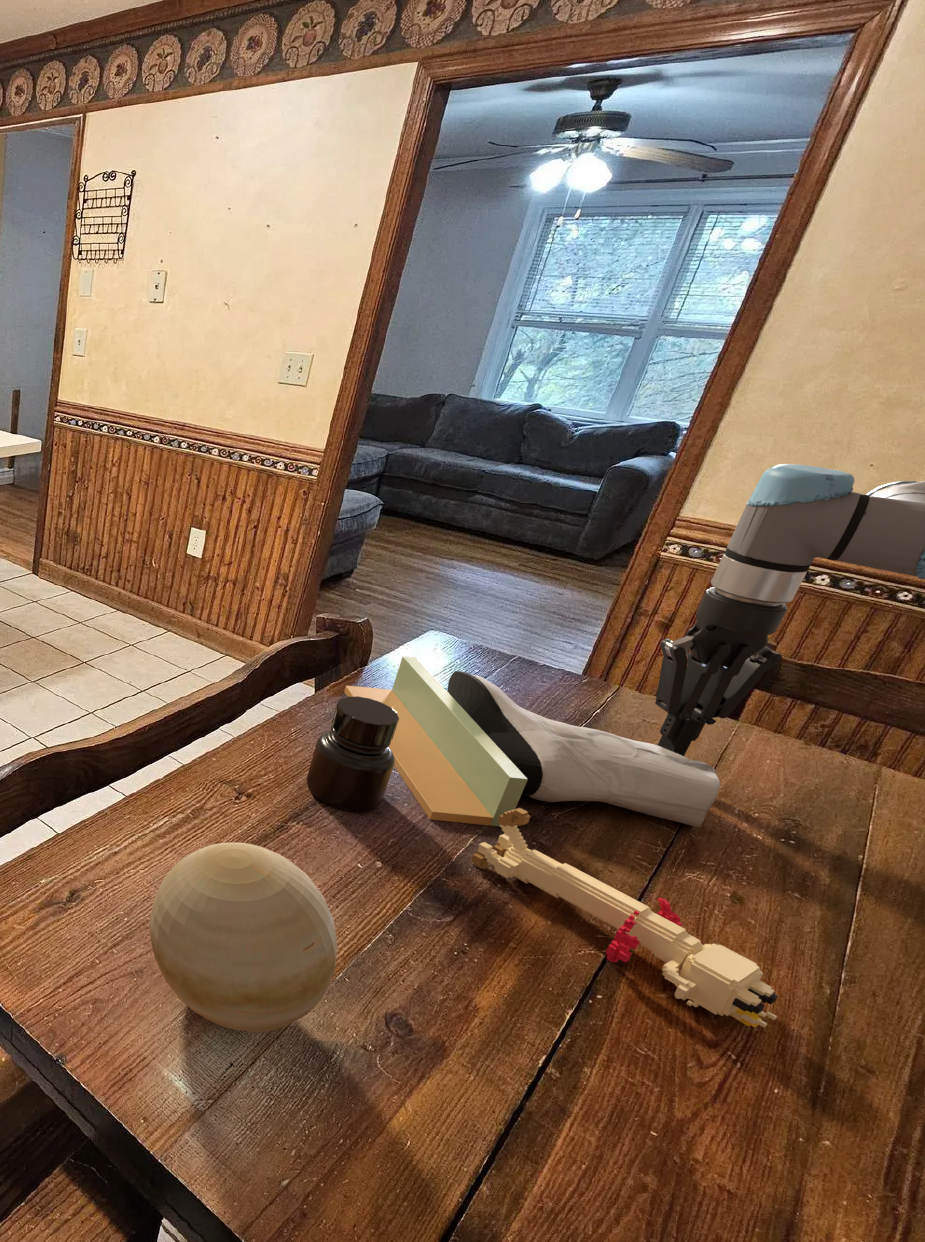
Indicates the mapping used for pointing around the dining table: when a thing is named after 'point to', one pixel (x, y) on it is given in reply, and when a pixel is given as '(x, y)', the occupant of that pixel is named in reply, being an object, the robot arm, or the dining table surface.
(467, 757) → the wall shelf
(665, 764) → the grey boot
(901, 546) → the robot arm
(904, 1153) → the dining table surface
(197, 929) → the decorative ball
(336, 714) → the ink bottle
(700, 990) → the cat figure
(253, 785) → the dining table surface
